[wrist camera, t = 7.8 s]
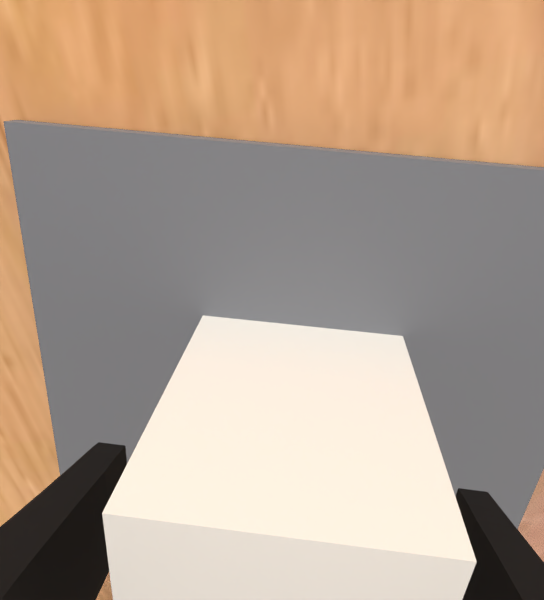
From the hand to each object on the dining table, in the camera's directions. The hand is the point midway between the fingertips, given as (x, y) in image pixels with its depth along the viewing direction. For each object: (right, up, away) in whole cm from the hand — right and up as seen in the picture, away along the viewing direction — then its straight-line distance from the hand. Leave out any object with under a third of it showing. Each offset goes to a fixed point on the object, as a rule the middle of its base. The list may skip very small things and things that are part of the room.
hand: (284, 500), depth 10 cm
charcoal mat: (0, +1, +3) cm, 3 cm away
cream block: (0, +1, +2) cm, 3 cm away
